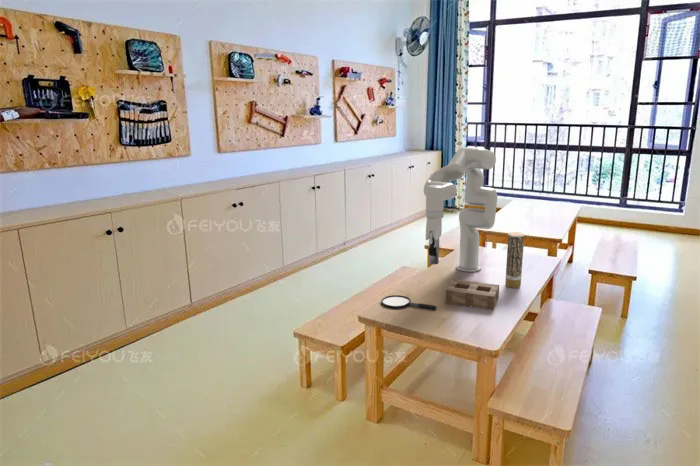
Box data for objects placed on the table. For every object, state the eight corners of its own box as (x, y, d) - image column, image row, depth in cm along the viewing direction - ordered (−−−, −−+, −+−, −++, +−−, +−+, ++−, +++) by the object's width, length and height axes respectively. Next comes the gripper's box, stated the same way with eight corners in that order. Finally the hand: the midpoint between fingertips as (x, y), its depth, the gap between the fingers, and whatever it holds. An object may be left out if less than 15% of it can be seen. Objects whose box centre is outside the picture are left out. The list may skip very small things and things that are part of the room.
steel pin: (430, 261, 218) (431, 235, 215) (439, 261, 216) (439, 236, 213) (428, 263, 214) (428, 237, 211) (437, 264, 213) (437, 238, 210)
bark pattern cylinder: (521, 289, 221) (525, 236, 215) (505, 288, 222) (509, 235, 216) (519, 283, 227) (523, 232, 221) (504, 283, 229) (507, 231, 222)
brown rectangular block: (452, 291, 220) (453, 279, 218) (498, 297, 211) (499, 285, 210) (445, 303, 207) (445, 289, 206) (493, 310, 199) (494, 296, 198)
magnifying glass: (431, 316, 195) (431, 311, 195) (377, 307, 206) (376, 303, 206) (440, 305, 206) (440, 300, 206) (388, 297, 217) (388, 293, 216)
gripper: (431, 209, 218) (430, 247, 223) (420, 217, 204) (420, 258, 208) (447, 210, 215) (447, 249, 220) (438, 218, 200) (437, 260, 205)
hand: (434, 253), depth 214 cm, fingers closed on steel pin, 4 cm apart
